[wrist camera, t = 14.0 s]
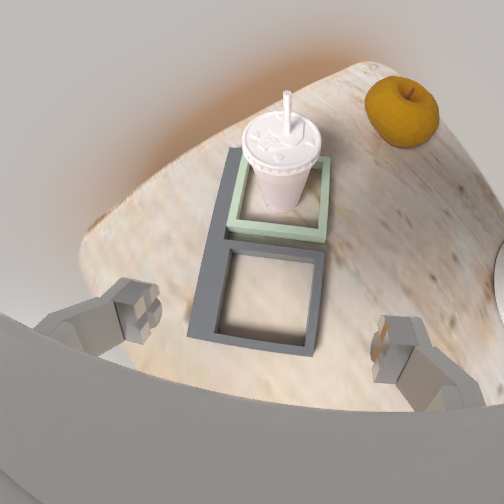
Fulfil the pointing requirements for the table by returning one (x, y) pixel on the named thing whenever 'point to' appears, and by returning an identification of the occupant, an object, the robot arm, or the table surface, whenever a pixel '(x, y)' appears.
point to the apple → (402, 111)
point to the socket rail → (221, 250)
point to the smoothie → (281, 154)
